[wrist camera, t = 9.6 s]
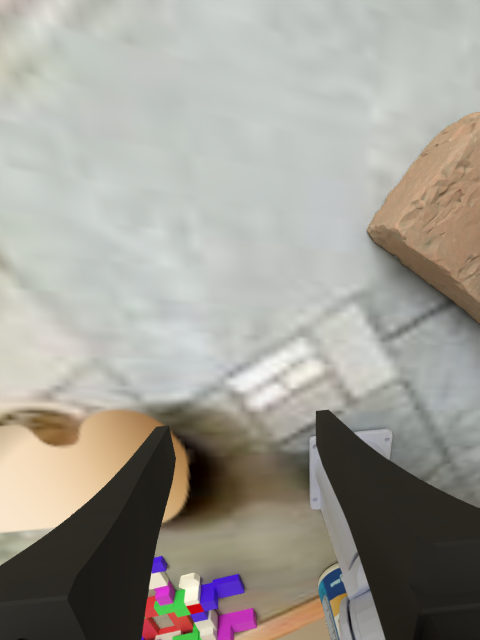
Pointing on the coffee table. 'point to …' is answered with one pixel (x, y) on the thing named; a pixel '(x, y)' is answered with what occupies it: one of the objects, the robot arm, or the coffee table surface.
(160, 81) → the coffee table surface
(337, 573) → the beverage bottle
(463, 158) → the brick
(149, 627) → the building block set
